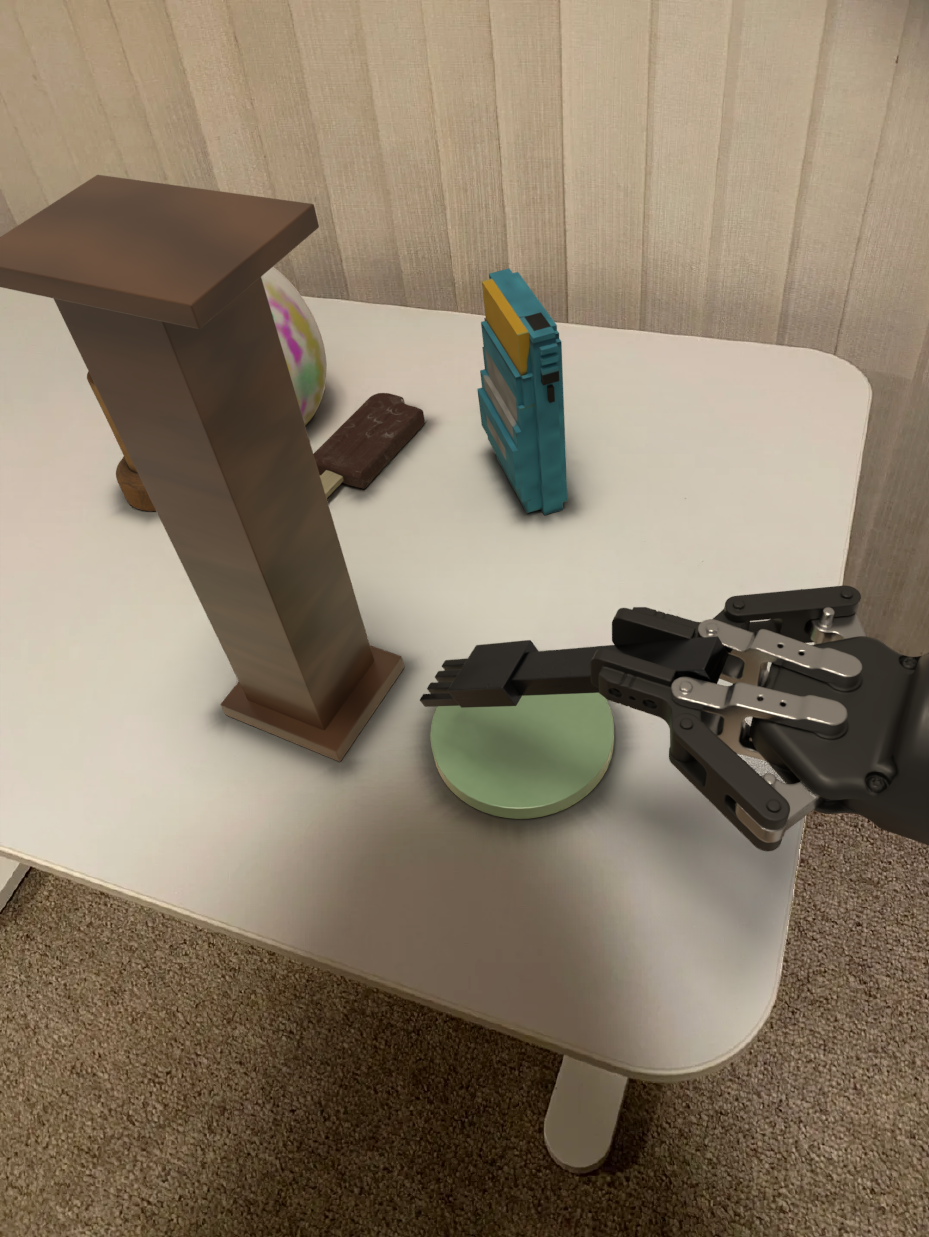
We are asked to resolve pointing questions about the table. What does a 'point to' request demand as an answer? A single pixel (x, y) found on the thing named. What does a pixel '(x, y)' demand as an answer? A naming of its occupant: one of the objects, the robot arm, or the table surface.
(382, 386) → the table surface
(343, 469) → the ice cream bar
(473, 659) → the fork
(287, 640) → the stand
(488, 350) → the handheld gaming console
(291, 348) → the decorative egg
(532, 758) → the plate
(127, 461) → the mortar and pestle
